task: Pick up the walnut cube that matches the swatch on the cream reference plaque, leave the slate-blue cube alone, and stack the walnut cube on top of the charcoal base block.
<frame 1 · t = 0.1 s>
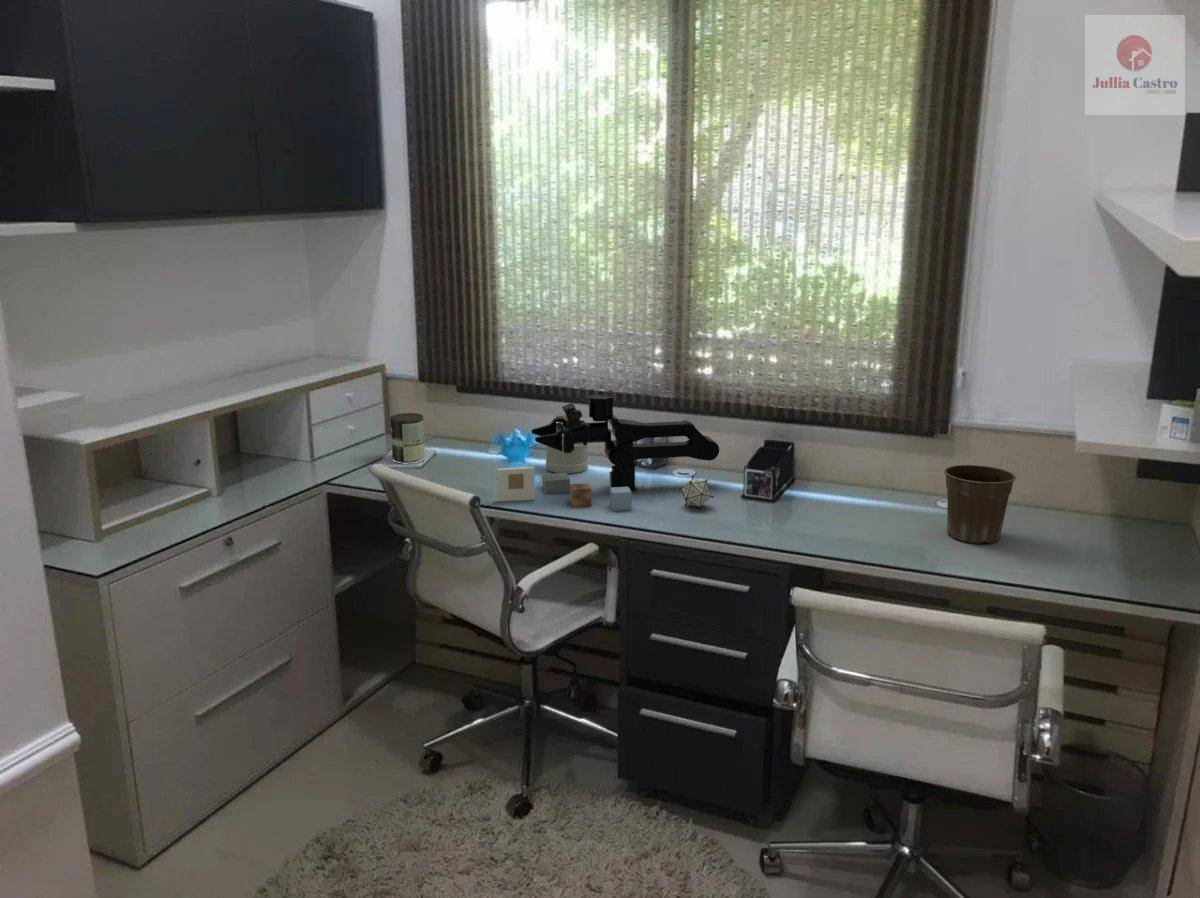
hand: (533, 435, 267), 17 cm above the table, tool horizontal, fingers open, 9 cm apart
game die: (695, 507, 259), on the table
slate blue cube: (620, 507, 259), on the table
jar: (567, 469, 296), on the table
base block: (556, 490, 275), on the table
reference plaque: (516, 500, 265), on the table
coffee can: (408, 460, 305), on the table
walnut cube: (580, 503, 262), on the table
plant pot: (973, 536, 237), on the table
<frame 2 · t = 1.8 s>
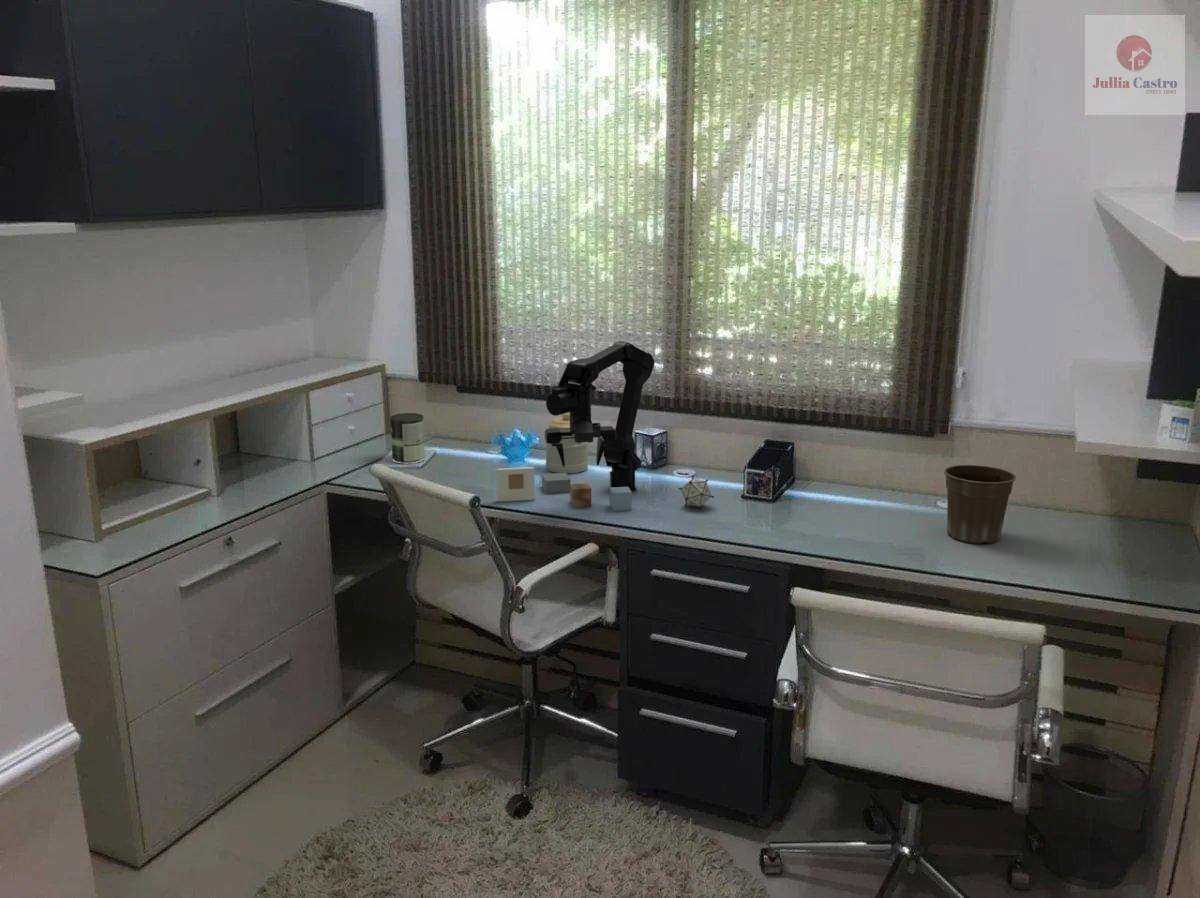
hand: (580, 465, 259), 11 cm above the table, tool pointing down, fingers open, 9 cm apart
nothing on the table moved.
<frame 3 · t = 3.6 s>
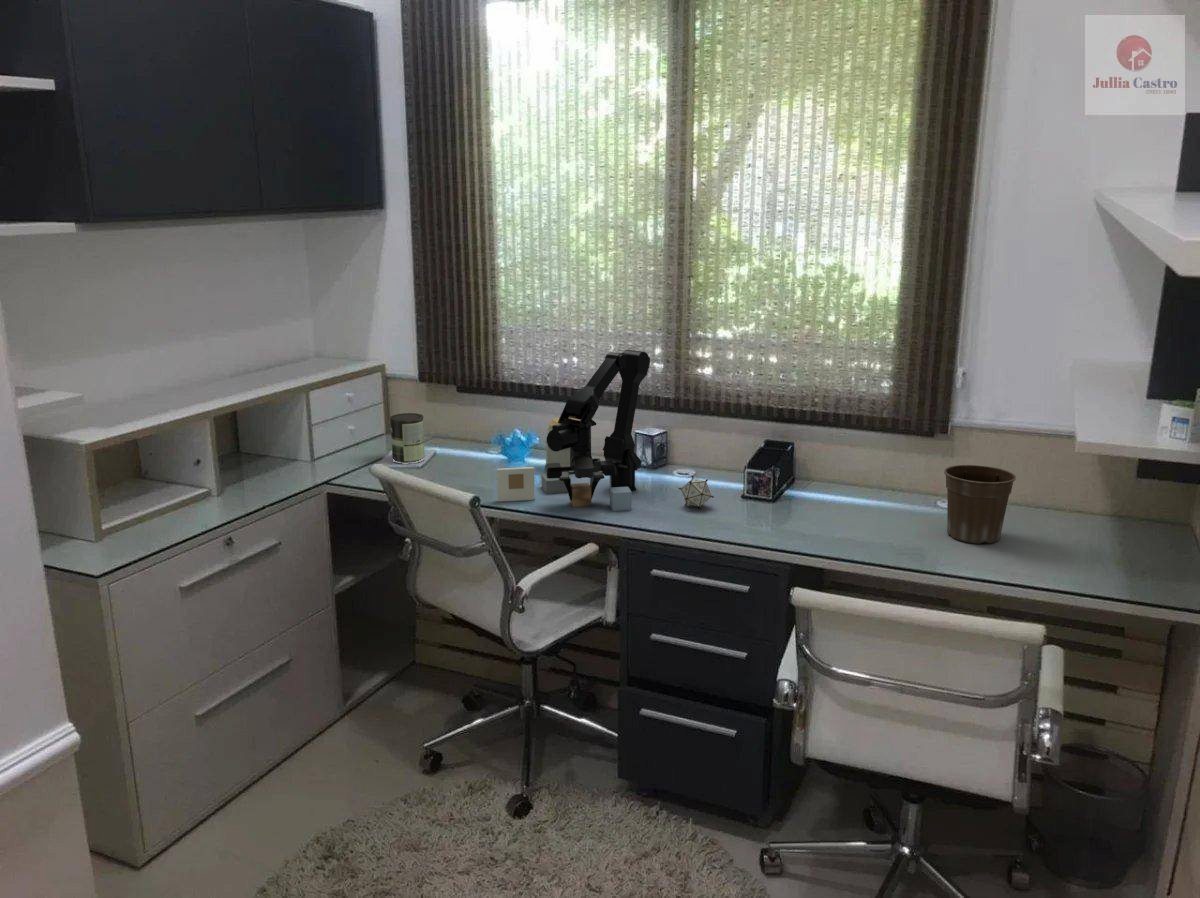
hand: (580, 499, 262), 1 cm above the table, tool pointing down, fingers closed on walnut cube, 5 cm apart
walnut cube: (580, 503, 262), on the table, touching gripper
everything else where it was.
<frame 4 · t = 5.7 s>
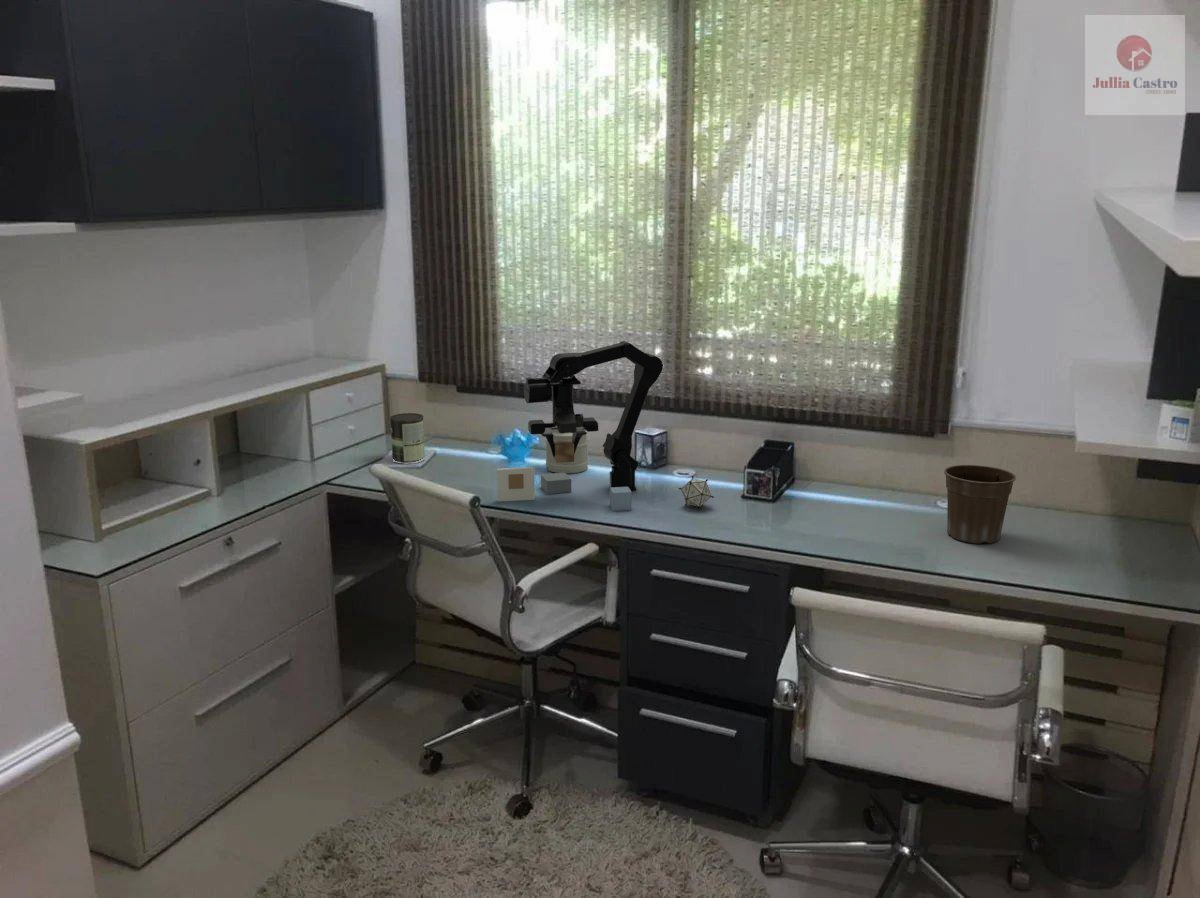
hand: (563, 456, 267), 11 cm above the table, tool pointing down, fingers closed on walnut cube, 5 cm apart
walnut cube: (563, 459, 268), point 10 cm above the table, touching gripper
everything else where it was.
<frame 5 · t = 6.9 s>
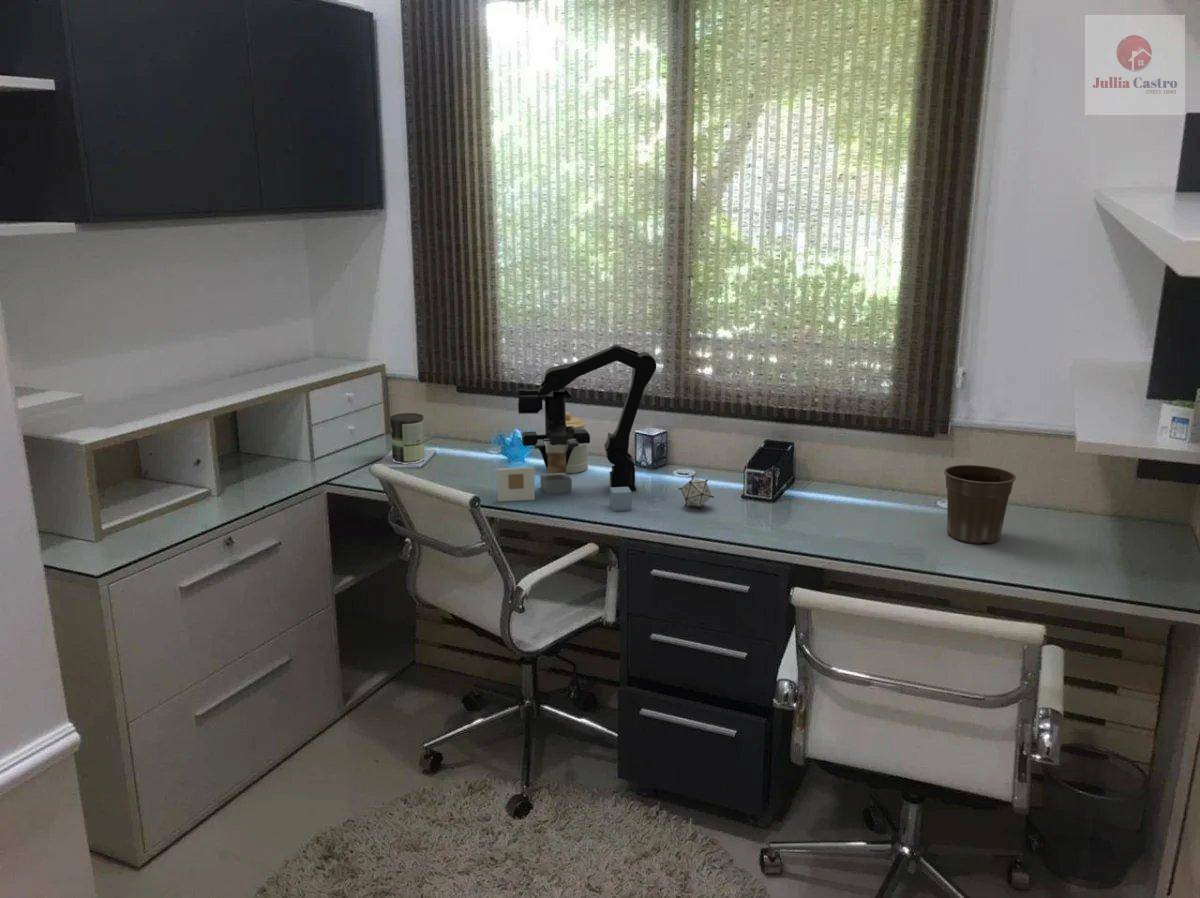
hand: (556, 467, 273), 7 cm above the table, tool pointing down, fingers closed on walnut cube, 5 cm apart
walnut cube: (556, 470, 273), point 6 cm above the table, touching gripper
everything else where it was.
when the fingers open (6 cm above the table, at t = 7.6 s): walnut cube drops 2 cm, resting on base block.
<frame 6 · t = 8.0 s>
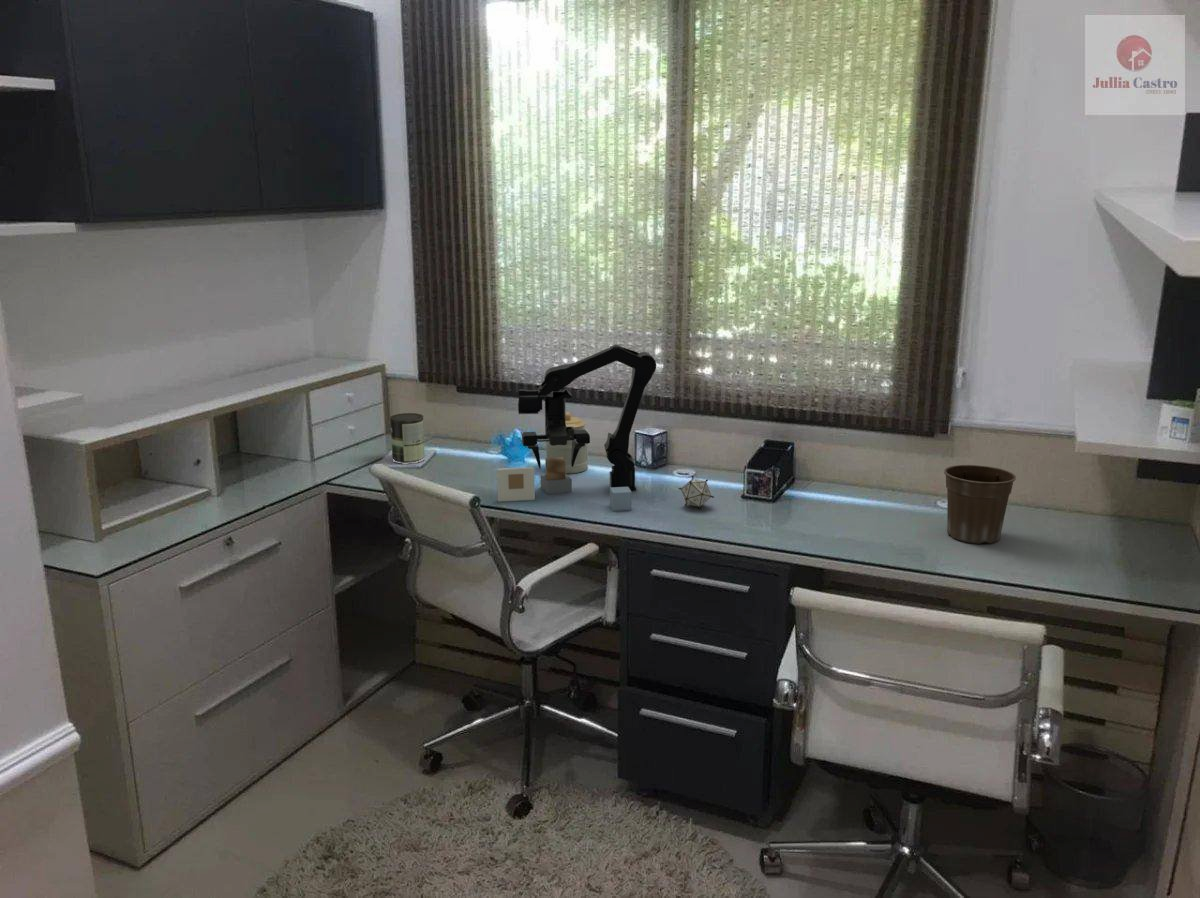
hand: (556, 467, 273), 6 cm above the table, tool pointing down, fingers open, 9 cm apart
base block: (556, 490, 275), on the table, touching walnut cube
walnut cube: (555, 476, 274), point 4 cm above the table, touching base block
everything else where it was.
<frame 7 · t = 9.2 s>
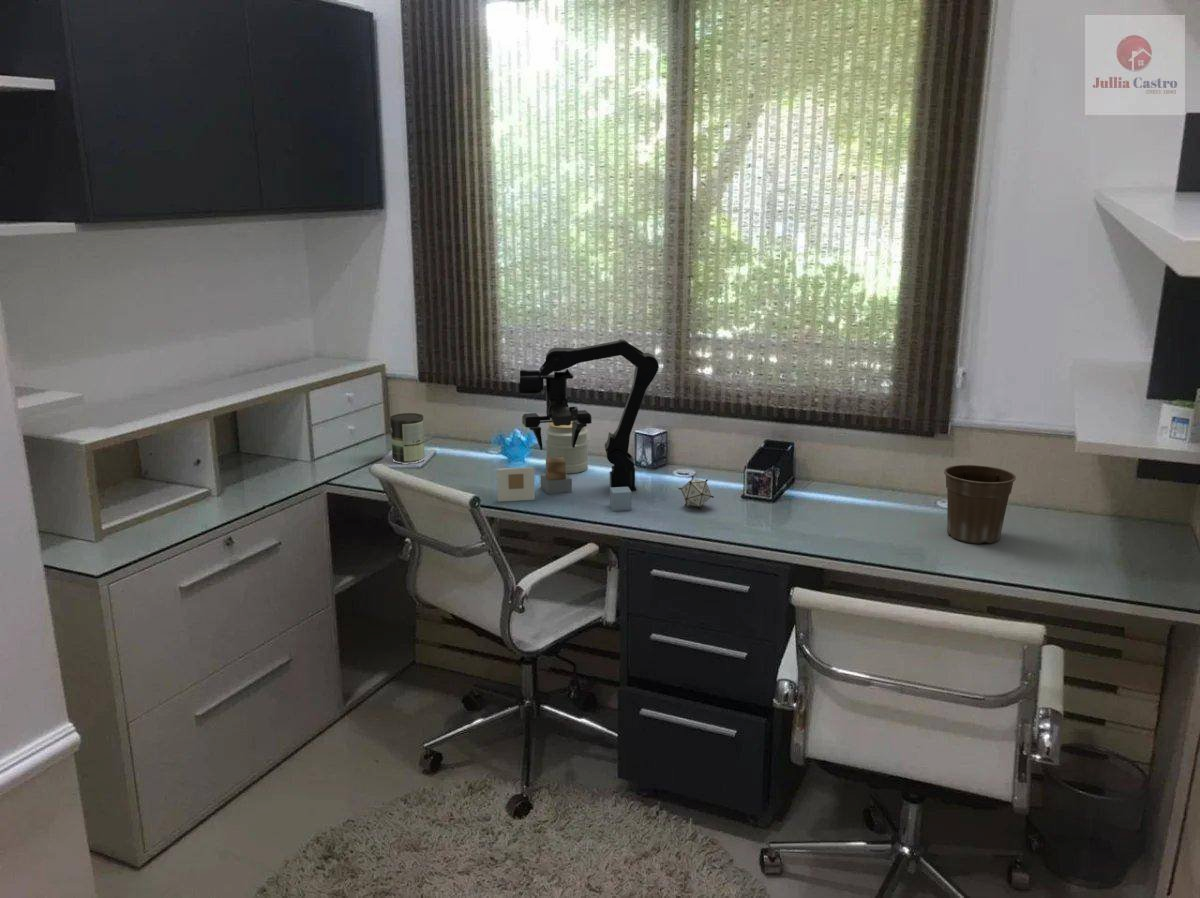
hand: (557, 448, 272), 12 cm above the table, tool pointing down, fingers open, 9 cm apart
nothing on the table moved.
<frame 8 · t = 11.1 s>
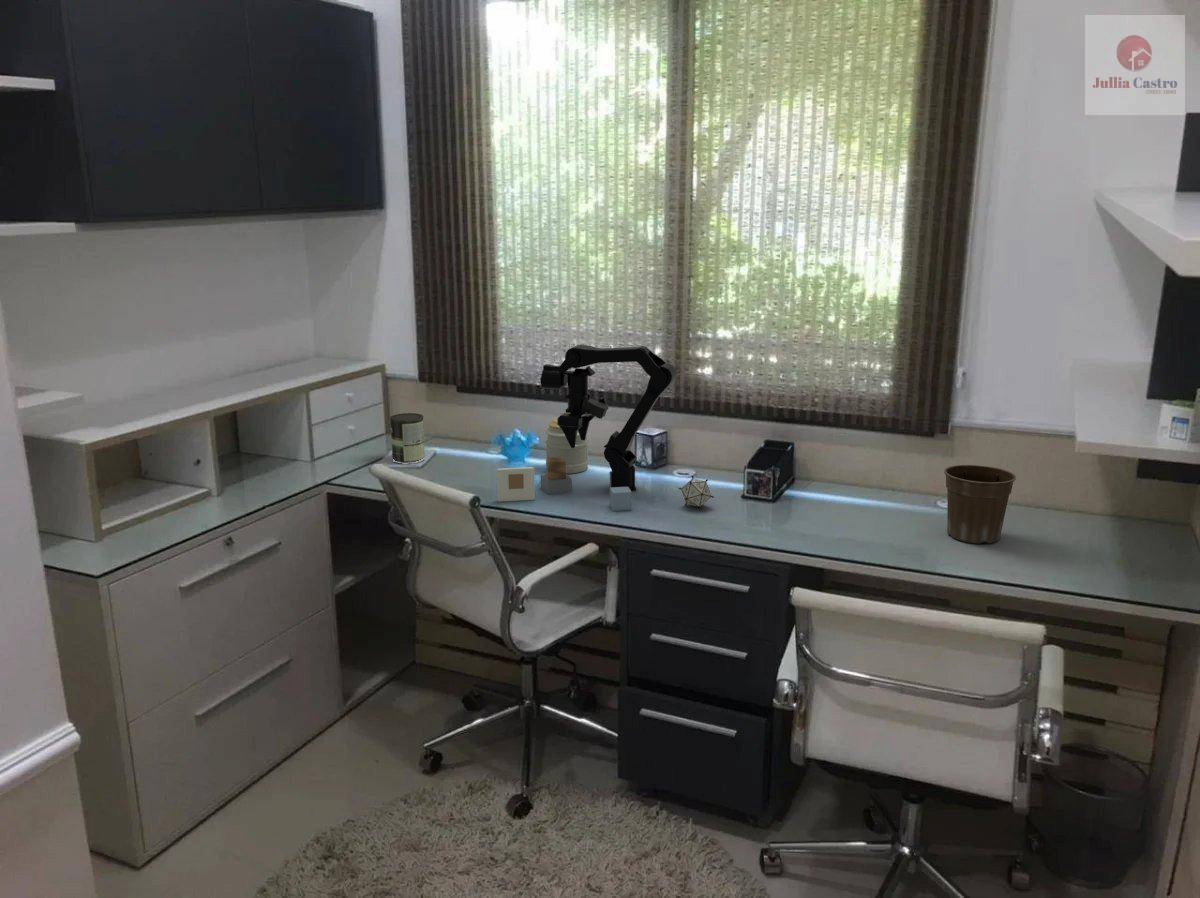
hand: (578, 443, 276), 12 cm above the table, tool pointing down, fingers open, 9 cm apart
base block: (556, 490, 275), on the table
walnut cube: (556, 476, 274), point 4 cm above the table
everything else where it was.
at the end: walnut cube 0.1 cm off-centre on the base block, point 4.0 cm above the base block's base; walnut cube tilted 0°; slate blue cube moved 0.1 cm from its start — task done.
